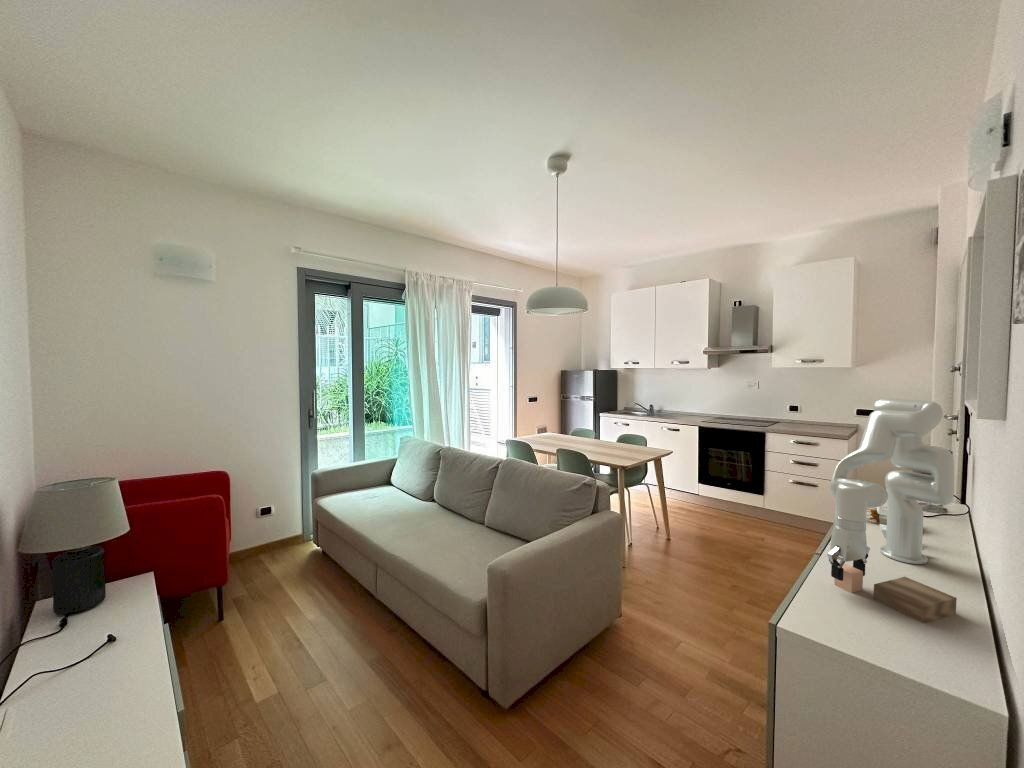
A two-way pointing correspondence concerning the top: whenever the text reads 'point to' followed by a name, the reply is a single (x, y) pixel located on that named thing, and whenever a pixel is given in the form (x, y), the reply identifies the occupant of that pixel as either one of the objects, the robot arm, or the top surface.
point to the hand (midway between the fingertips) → (847, 576)
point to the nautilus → (877, 516)
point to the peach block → (850, 579)
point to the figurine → (883, 512)
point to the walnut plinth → (915, 599)
